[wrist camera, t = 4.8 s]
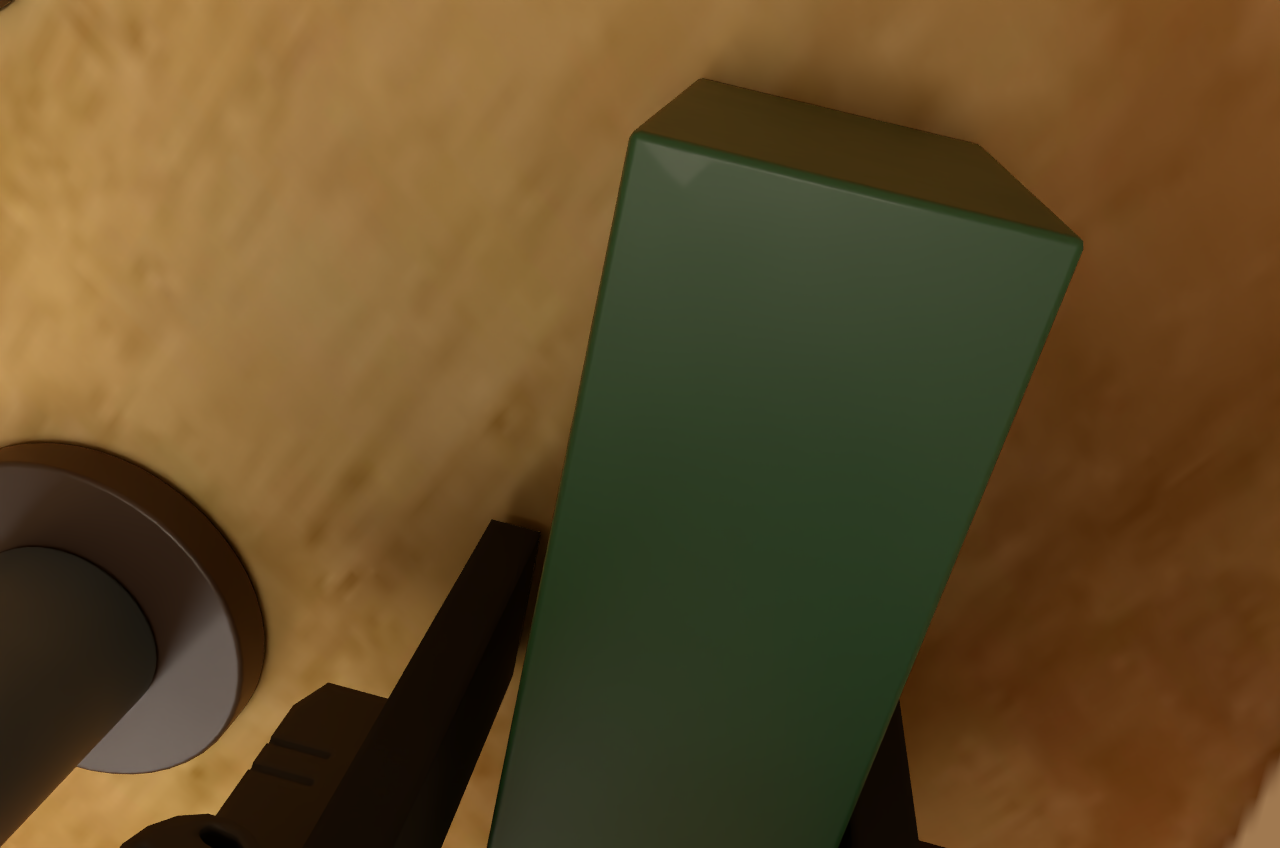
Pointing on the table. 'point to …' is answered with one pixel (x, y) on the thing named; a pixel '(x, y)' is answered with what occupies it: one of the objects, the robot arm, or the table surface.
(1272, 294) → the table surface
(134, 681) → the grey cylinder on disc
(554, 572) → the green bar
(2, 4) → the red peg on stand
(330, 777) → the robot arm
